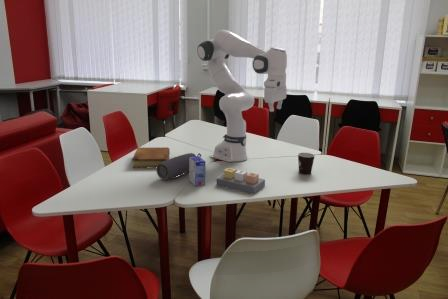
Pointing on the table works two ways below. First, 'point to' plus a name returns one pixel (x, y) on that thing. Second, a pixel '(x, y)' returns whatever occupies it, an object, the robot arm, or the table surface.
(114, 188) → the table surface
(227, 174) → the key
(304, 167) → the coffee mug
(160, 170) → the bluetooth speaker
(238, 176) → the key
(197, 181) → the ink cartridge box
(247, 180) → the key
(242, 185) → the grey keypad base
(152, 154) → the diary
